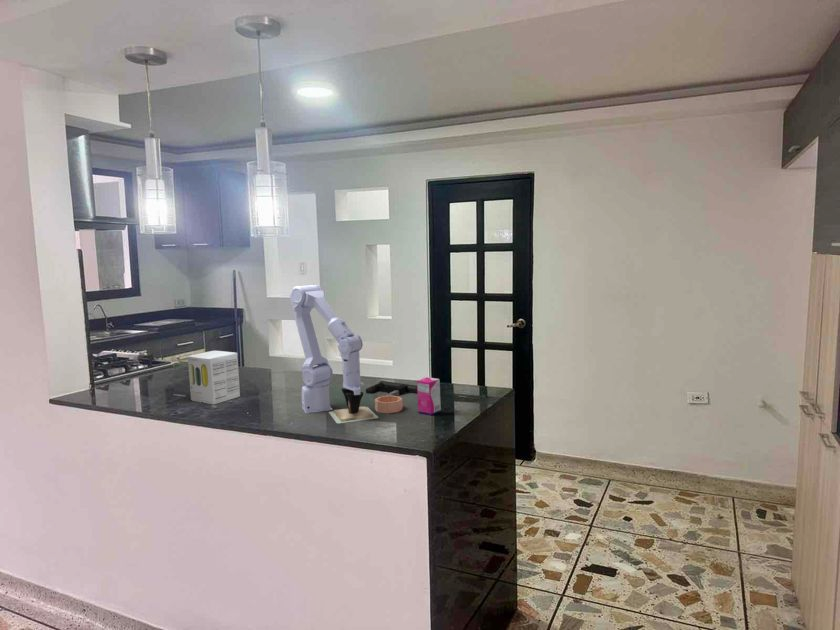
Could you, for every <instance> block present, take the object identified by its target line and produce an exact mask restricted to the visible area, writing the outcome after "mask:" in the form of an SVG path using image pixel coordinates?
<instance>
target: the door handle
mask: <svg viewBox="0 0 840 630" xmlns="http://www.w3.org/2000/svg"><path fill="white" fill-rule="evenodd" d="M377 392H380V393H385V395H384V396H389V395H390V396H402V395H405V394H406V393H411V394H417V384H416V385H413V384H408V383H399V382H394V381H386V380H380V381H379V382H378V383H376V384H374V385H371V386H369V387H367V388H366V389H365V393H366V394H374V393H377Z"/></svg>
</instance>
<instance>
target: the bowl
mask: <svg viewBox="0 0 840 630" xmlns="http://www.w3.org/2000/svg"><path fill="white" fill-rule="evenodd" d="M403 406H404V405H403V398H402V397H401V396H400V395H398V396H390V395H389V396H385V395H381V396H378V397H376V398H375V399H374V409H375V411H376V412H377V413H382V414H393V413H395V414H396V413H399V412H400V411H402V410H403Z"/></svg>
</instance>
